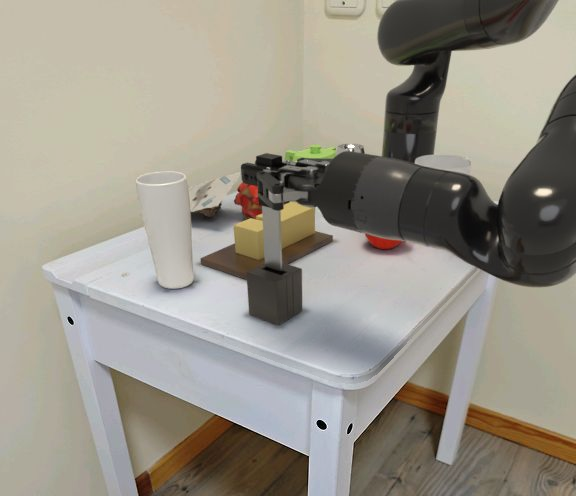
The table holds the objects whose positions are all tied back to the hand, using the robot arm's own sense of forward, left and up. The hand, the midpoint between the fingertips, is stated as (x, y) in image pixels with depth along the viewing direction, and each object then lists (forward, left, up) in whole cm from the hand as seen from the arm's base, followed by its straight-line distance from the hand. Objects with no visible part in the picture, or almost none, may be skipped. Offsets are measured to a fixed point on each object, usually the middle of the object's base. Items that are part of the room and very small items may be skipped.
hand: (250, 170), depth 66 cm
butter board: (-11, -15, -18) cm, 26 cm away
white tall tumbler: (+6, -14, -18) cm, 23 cm away
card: (-13, -37, -18) cm, 43 cm away
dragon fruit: (-19, -29, -18) cm, 39 cm away
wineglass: (-33, -22, -18) cm, 43 cm away
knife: (-1, +3, -12) cm, 12 cm away
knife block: (-1, +3, -18) cm, 18 cm away
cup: (-38, -5, -18) cm, 42 cm away
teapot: (-35, -35, -18) cm, 53 cm away
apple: (-28, -6, -18) cm, 34 cm away
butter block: (-15, -17, -17) cm, 28 cm away
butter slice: (-8, -14, -17) cm, 23 cm away
